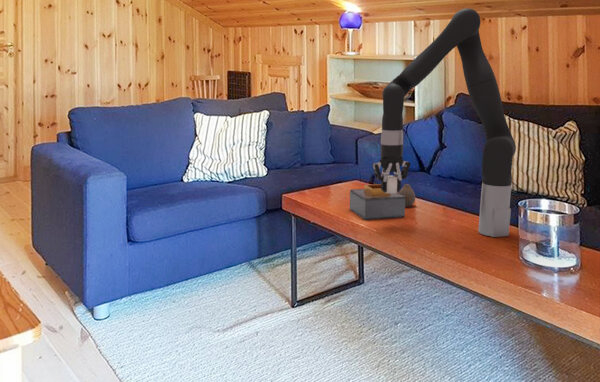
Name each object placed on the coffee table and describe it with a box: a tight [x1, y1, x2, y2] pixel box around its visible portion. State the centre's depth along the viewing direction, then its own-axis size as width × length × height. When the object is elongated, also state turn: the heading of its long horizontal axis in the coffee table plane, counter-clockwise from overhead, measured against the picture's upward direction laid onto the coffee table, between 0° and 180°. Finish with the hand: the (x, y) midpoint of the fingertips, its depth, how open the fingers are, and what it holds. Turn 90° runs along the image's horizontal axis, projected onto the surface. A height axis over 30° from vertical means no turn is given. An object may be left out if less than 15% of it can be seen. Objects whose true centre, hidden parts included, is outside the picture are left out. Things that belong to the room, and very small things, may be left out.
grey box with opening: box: [349, 183, 406, 221], centre depth 207 cm, size 20×16×10 cm
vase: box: [398, 183, 416, 208], centre depth 216 cm, size 7×7×9 cm
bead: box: [385, 175, 398, 193], centre depth 187 cm, size 4×4×6 cm
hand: (390, 191), depth 188 cm, fingers closed on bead, 4 cm apart
